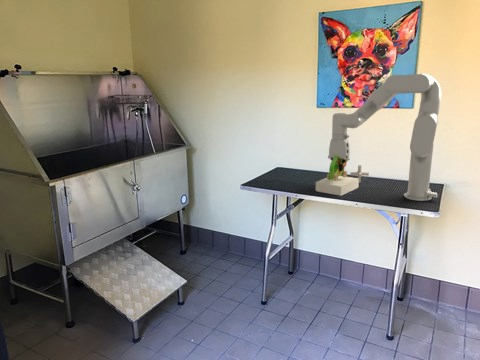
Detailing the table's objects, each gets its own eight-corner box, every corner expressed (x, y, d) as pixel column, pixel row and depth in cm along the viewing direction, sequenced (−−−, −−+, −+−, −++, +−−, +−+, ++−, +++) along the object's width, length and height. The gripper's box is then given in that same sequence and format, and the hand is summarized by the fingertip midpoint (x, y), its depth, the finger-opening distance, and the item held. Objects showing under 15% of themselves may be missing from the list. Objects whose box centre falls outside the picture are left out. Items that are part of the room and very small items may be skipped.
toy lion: (335, 181, 208) (336, 153, 204) (325, 180, 212) (326, 152, 208) (349, 175, 219) (350, 148, 216) (340, 174, 223) (341, 147, 219)
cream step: (358, 187, 219) (358, 178, 218) (340, 195, 205) (341, 186, 204) (334, 183, 229) (334, 174, 228) (315, 190, 215) (315, 182, 214)
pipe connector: (368, 184, 224) (369, 167, 221) (350, 184, 226) (351, 167, 223) (367, 180, 233) (368, 163, 231) (349, 180, 235) (350, 163, 233)
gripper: (356, 137, 207) (355, 171, 212) (329, 134, 218) (328, 167, 222) (350, 139, 202) (348, 174, 207) (322, 136, 212) (321, 170, 217)
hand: (338, 170), depth 214 cm, fingers closed on toy lion
